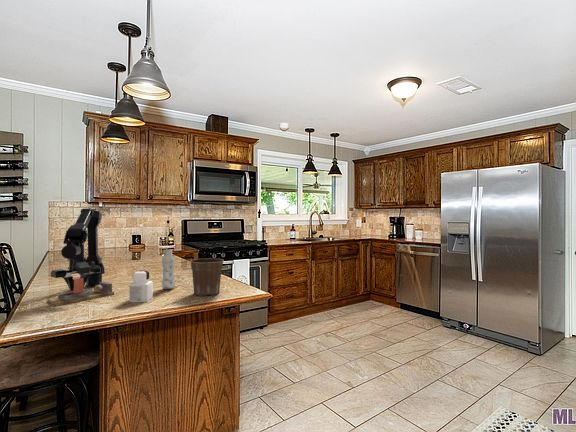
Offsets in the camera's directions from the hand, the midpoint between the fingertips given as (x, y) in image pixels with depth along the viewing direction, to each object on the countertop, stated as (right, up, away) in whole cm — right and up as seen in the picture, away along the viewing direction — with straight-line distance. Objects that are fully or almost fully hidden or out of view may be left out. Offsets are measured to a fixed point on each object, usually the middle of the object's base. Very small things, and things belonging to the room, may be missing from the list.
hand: (76, 290), depth 151 cm
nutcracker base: (+1, -4, +2) cm, 5 cm away
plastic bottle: (+34, -4, +21) cm, 40 cm away
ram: (+1, -3, +2) cm, 3 cm away
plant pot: (+55, -5, +14) cm, 57 cm away
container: (+29, -5, 0) cm, 29 cm away
